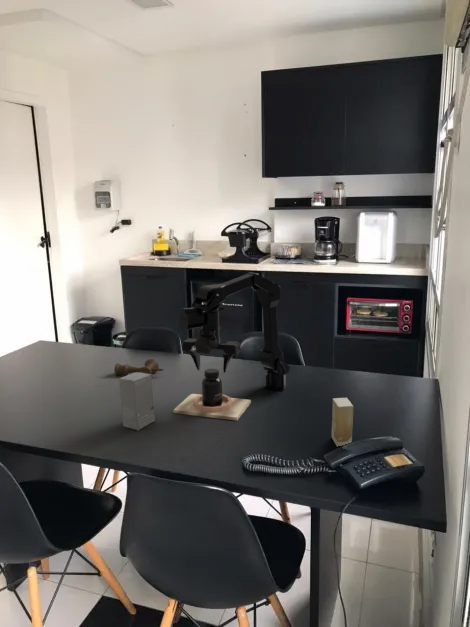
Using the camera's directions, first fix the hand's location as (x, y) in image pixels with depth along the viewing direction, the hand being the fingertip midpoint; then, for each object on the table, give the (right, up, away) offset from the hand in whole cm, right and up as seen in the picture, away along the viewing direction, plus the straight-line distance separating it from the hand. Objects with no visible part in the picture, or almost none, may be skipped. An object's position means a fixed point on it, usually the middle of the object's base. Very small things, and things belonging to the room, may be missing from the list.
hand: (211, 371), depth 166 cm
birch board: (0, -13, +3) cm, 13 cm away
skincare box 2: (+38, -18, -23) cm, 48 cm away
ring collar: (0, -13, +3) cm, 13 cm away
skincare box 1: (-22, -16, -8) cm, 29 cm away
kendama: (-30, -6, +36) cm, 47 cm away
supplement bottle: (0, -12, +3) cm, 12 cm away
